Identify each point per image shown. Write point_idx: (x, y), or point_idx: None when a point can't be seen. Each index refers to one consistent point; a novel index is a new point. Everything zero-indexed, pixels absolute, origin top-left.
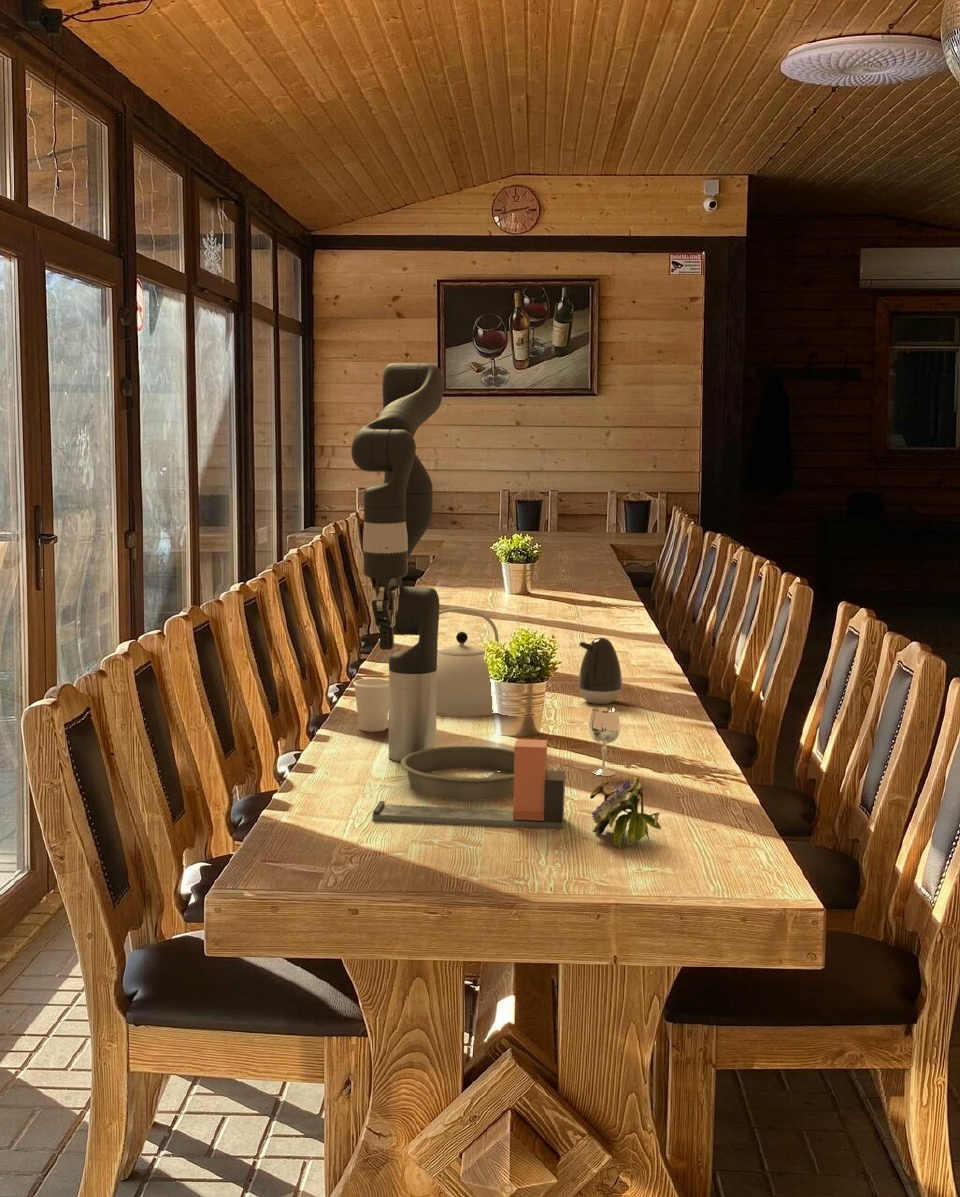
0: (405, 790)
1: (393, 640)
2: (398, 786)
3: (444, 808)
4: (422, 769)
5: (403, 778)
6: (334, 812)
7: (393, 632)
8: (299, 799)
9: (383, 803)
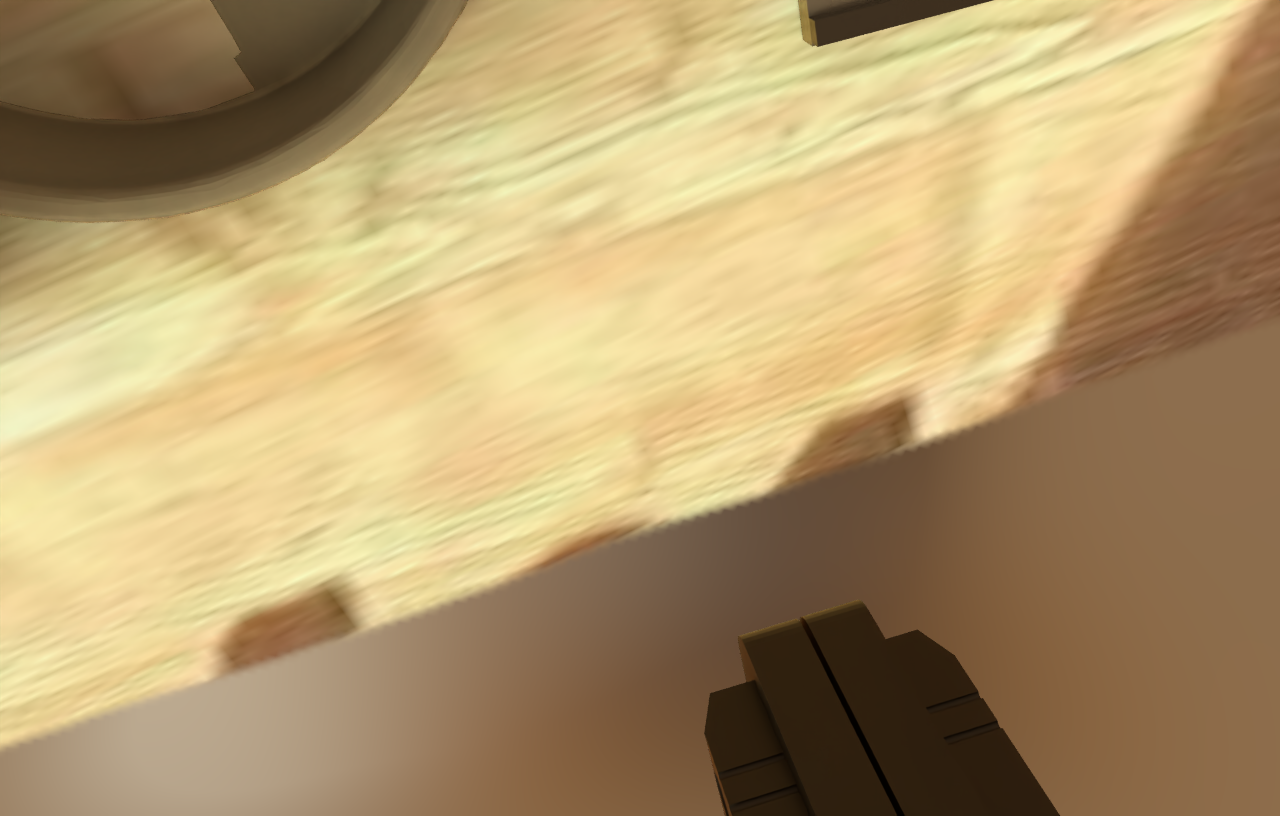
0: None
1: (806, 697)
2: None
3: None
4: (15, 125)
5: None
6: (886, 220)
7: (843, 810)
8: (743, 436)
9: (844, 12)
